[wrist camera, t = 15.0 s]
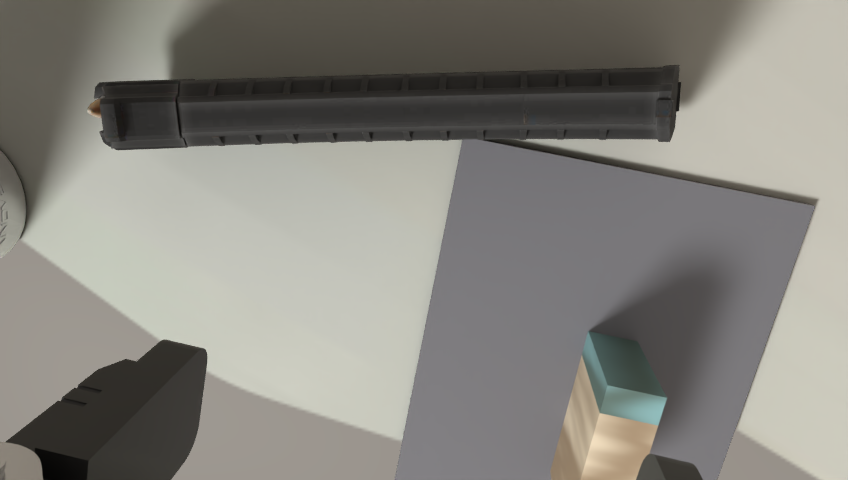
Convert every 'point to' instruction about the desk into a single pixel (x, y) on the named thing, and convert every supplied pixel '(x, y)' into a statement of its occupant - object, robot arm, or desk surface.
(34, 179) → the desk surface
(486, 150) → the mat
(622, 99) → the magazine
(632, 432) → the tile
